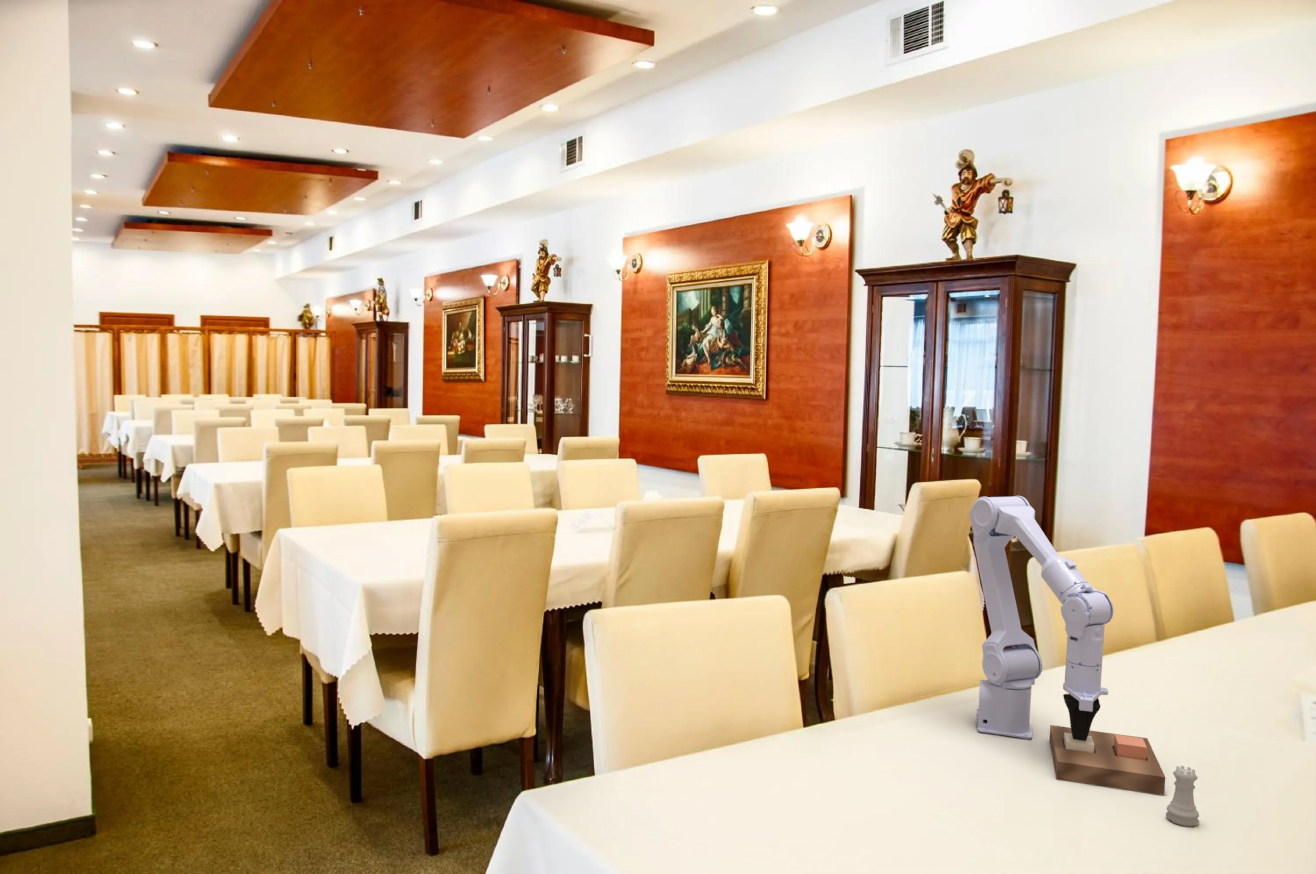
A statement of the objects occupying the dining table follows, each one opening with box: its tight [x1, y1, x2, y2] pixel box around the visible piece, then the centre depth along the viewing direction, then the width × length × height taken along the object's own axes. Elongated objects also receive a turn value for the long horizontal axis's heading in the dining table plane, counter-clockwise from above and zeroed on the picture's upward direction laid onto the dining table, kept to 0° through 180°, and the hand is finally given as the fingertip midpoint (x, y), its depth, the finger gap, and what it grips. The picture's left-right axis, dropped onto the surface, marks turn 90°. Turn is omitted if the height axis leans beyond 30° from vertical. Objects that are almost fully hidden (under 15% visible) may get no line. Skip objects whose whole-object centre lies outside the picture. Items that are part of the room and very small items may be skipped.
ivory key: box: [1064, 732, 1094, 753], centre depth 166 cm, size 4×4×4 cm
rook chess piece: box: [1165, 765, 1200, 828], centre depth 145 cm, size 4×4×8 cm
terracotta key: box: [1114, 734, 1147, 760], centre depth 163 cm, size 4×4×4 cm
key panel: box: [1049, 724, 1166, 796], centre depth 165 cm, size 16×18×3 cm
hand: (1079, 738), depth 166 cm, fingers closed, pressing on ivory key
